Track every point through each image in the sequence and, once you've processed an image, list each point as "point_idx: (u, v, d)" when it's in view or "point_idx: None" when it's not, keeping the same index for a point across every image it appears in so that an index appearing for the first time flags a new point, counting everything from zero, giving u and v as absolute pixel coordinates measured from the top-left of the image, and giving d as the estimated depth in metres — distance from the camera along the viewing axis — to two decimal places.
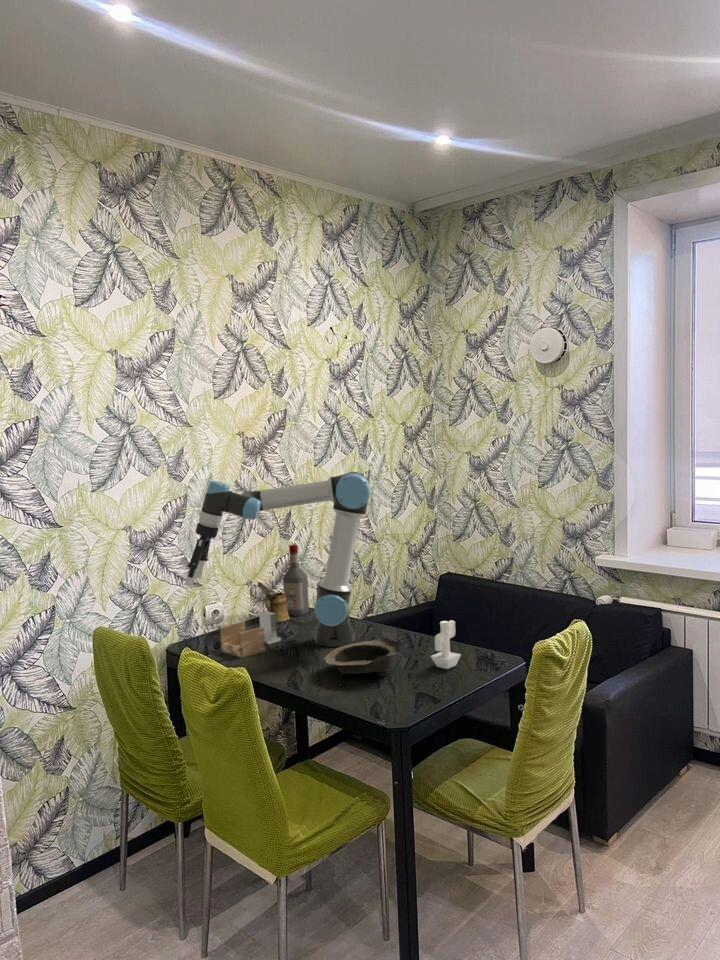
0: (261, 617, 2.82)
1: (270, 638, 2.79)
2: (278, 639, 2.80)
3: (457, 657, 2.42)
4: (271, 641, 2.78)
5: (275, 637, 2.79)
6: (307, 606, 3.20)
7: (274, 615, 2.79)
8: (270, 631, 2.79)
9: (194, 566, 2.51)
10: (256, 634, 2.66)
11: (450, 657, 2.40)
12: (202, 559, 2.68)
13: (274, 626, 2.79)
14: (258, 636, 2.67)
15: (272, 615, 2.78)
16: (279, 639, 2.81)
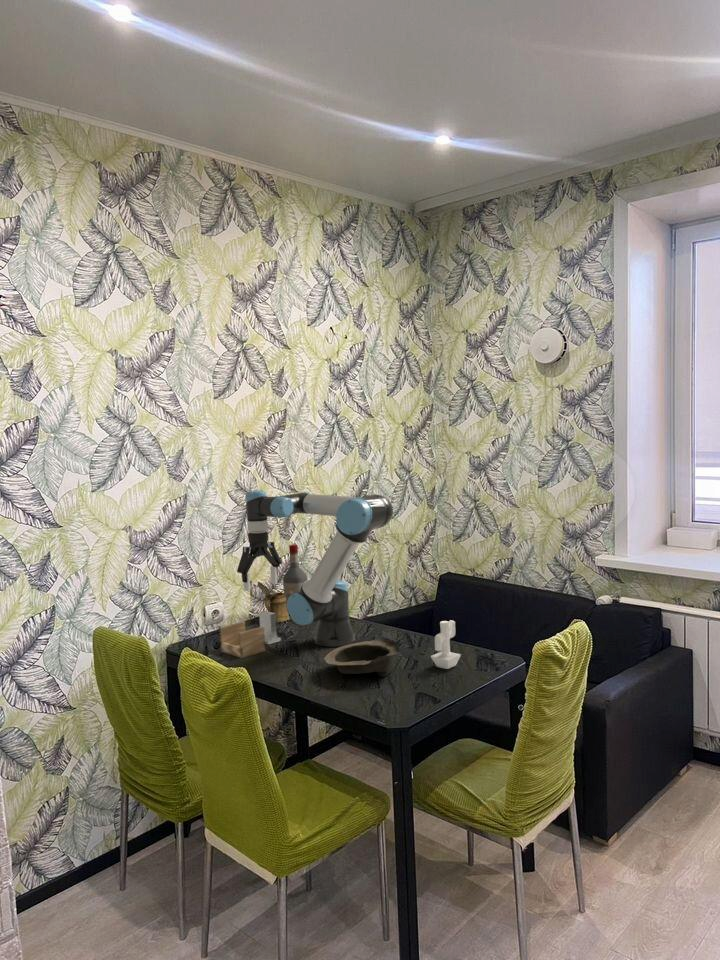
0: (261, 617, 2.82)
1: (270, 638, 2.79)
2: (278, 639, 2.80)
3: (457, 657, 2.42)
4: (271, 641, 2.78)
5: (275, 637, 2.79)
6: None
7: (274, 615, 2.79)
8: (270, 631, 2.79)
9: (240, 571, 2.71)
10: (256, 634, 2.66)
11: (450, 657, 2.40)
12: (274, 565, 2.84)
13: (274, 626, 2.79)
14: (258, 636, 2.67)
15: (272, 615, 2.78)
16: (279, 639, 2.81)
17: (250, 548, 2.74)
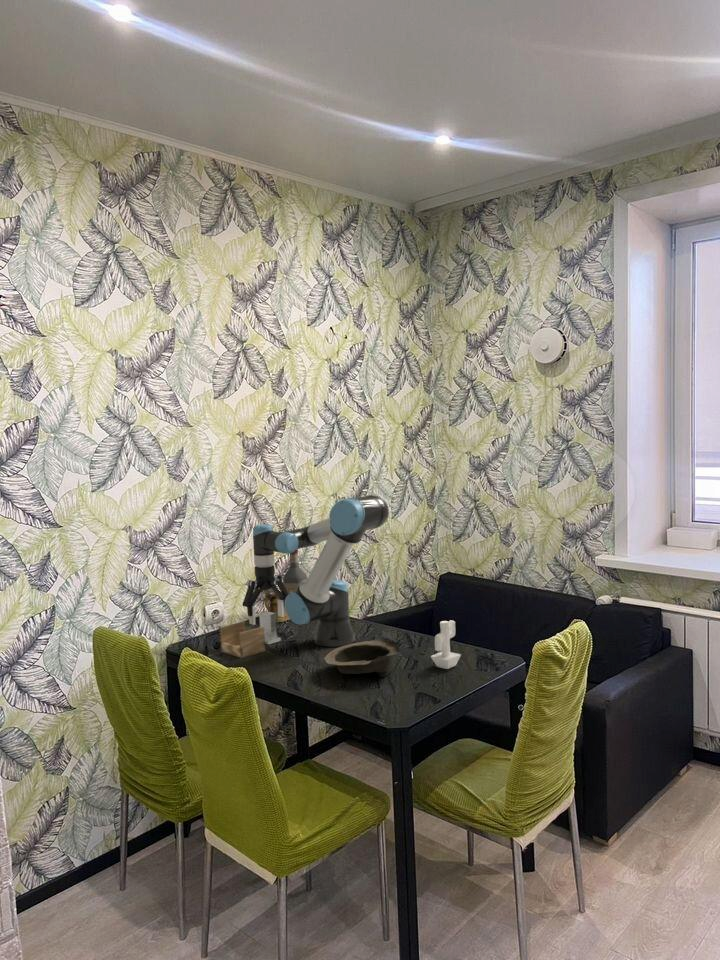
0: (261, 617, 2.82)
1: (270, 638, 2.79)
2: (278, 639, 2.80)
3: (457, 657, 2.42)
4: (271, 641, 2.78)
5: (275, 637, 2.79)
6: None
7: (274, 615, 2.79)
8: (270, 631, 2.79)
9: (245, 605, 2.73)
10: (256, 634, 2.66)
11: (450, 657, 2.40)
12: (281, 598, 2.86)
13: (274, 626, 2.79)
14: (258, 636, 2.67)
15: (272, 615, 2.78)
16: (279, 639, 2.81)
17: (256, 582, 2.76)
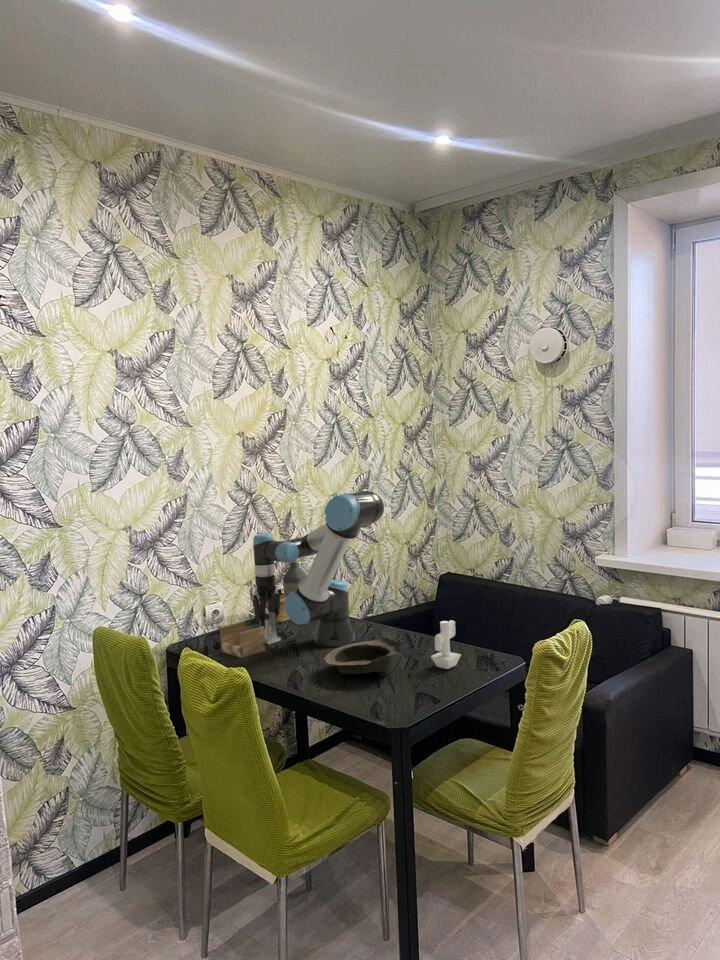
0: None
1: (270, 638, 2.79)
2: (278, 639, 2.80)
3: (457, 657, 2.42)
4: (271, 641, 2.78)
5: (275, 637, 2.79)
6: None
7: (274, 615, 2.79)
8: (269, 631, 2.79)
9: (258, 619, 2.77)
10: (256, 634, 2.66)
11: (450, 657, 2.40)
12: None
13: (274, 626, 2.79)
14: (258, 636, 2.67)
15: (272, 615, 2.78)
16: (279, 639, 2.81)
17: (257, 594, 2.77)
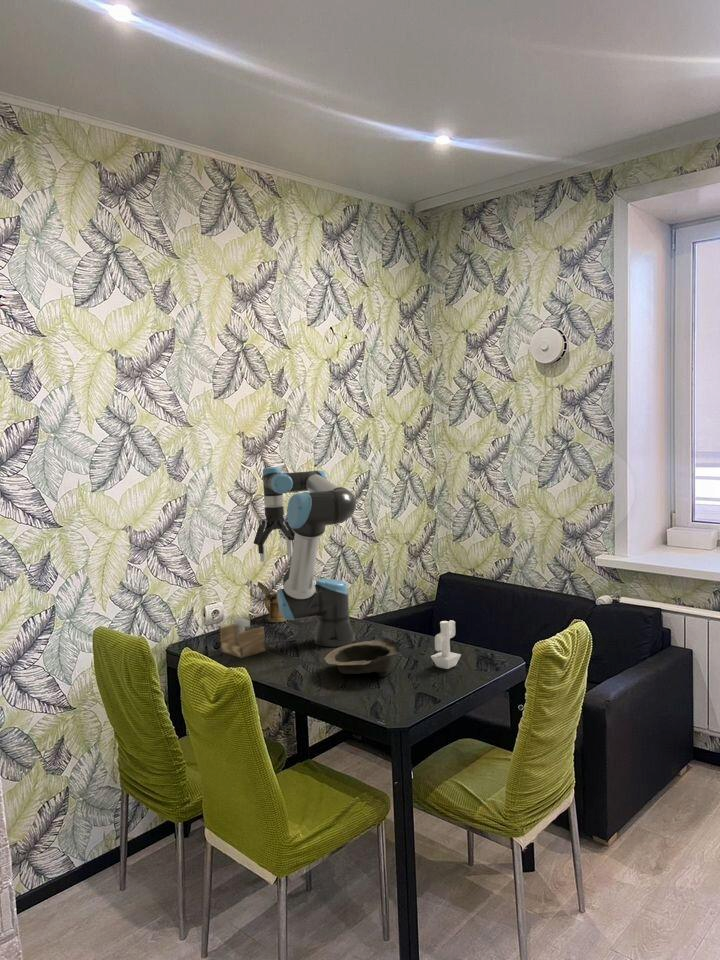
0: (235, 624, 2.70)
1: None
2: None
3: (457, 657, 2.42)
4: None
5: None
6: None
7: (248, 622, 2.67)
8: None
9: (256, 543, 2.87)
10: (256, 634, 2.66)
11: (450, 657, 2.40)
12: (290, 539, 2.99)
13: None
14: (258, 636, 2.67)
15: (246, 622, 2.66)
16: None
17: (266, 521, 2.90)
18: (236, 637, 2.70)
